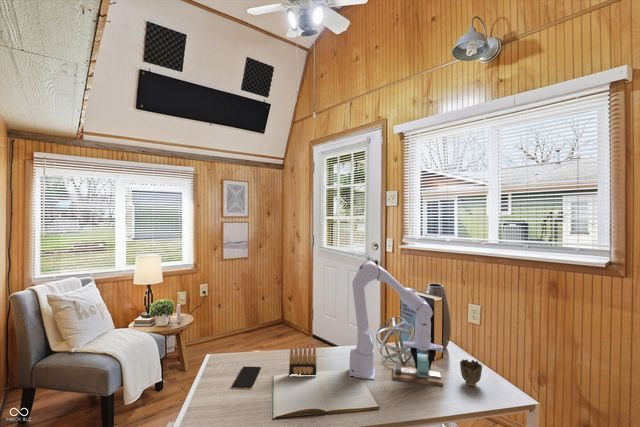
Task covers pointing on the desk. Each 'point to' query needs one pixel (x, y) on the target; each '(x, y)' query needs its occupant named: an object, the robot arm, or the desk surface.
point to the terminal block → (422, 365)
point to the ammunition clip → (302, 361)
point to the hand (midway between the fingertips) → (422, 368)
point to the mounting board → (417, 378)
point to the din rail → (414, 372)
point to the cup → (471, 372)
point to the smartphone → (246, 378)
